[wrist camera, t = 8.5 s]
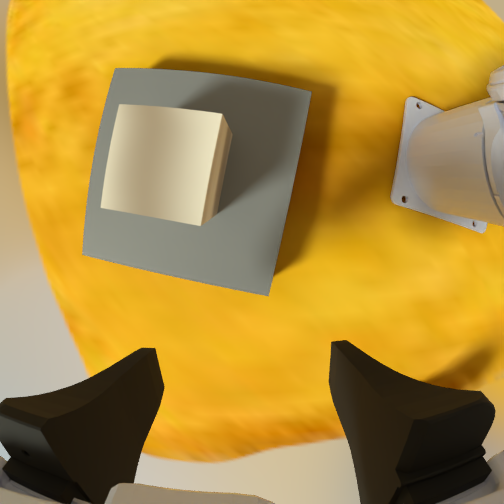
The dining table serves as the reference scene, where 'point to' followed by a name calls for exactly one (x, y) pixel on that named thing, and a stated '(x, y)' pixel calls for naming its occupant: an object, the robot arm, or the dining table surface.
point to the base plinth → (233, 189)
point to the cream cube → (166, 163)
